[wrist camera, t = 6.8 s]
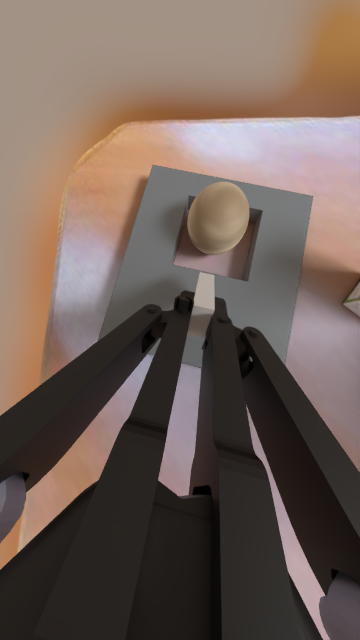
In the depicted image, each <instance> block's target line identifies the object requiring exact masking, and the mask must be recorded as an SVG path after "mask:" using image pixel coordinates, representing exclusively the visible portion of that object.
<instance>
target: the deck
mask: <svg viewBox="0 0 360 640" xmlns="http://www.w3.org/2000/svg"><path fill="white" fill-rule="evenodd" d="M216 182H229V183H232V184H235V185H236V186H238V187H239V188H240V189H241V190H242V191H243V193H244V194H245V196H246V198H247V201H248V205H249V221H250V222H255V226H254V230H253V235H252V240H251V244H250V249H249V254H248V259H247V263H246V268H245V273H244V277H243V280H238V279H234V278H230V277H225V276H221V275H217V274H212V273H208V272H203V271H199V270H195V269H190V268H186V267H182V266H177V265H173V263H174V259H175V255H176V251H177V248H178V244H179V240H180V237H181V233H182V229H183V226H184V222H185V218H186V215H187V211H188V209H190V207H191V205H192V203H193V201H194V199H195V198H196V196H197V195H198V194H199V193H200V192H201V191H202V190H203V189H204V188H206V187H207V186H209V185H211V184H213V183H216ZM312 201H313V196H310V195H305V194H300V193H295V192H290V191H285V190H279V189H274V188H269V187H264V186H259V185H254V184H249V183H244V182H238V181H233V180H228V179H223V178H218V177H213V176H208V175H202V174H197V173H192V172H187V171H182V170H177V169H172V168H167V167H161V166H156V165H153V166H152V169H151V172H150V175H149V178H148V182H147V185H146V188H145V191H144V194H143V198H142V201H141V204H140V207H139V210H138V214H137V217H136V220H135V223H134V226H133V230H132V233H131V236H130V239H129V242H128V246H127V249H126V252H125V255H124V258H123V262H122V265H121V268H120V271H119V274H118V278H117V281H116V284H115V287H114V290H113V294H112V297H111V300H110V303H109V306H108V310H107V313H106V316H105V319H104V322H103V326H102V329H101V332H100V335H99V338H98V341H99V340H100V339H102V338H103V337H104V336H106V335H107V334H108V333H109V332H111V331H112V330H113V329H115V328H116V327H117V326H119V325H120V324H121V323H123V322H124V321H125V320H127V319H128V318H129V317H130V316H132V315H133V314H134V313H136V312H137V311H138V310H140V309H141V308H142V307H144V306H145V305H148V304H155V305H158V306H160V307H161V309H162V311H169V310H173V308H174V301H175V298H176V296H179V295H180V294H181V292H182V291H184V290H186V291H190V292H195V290H196V286H197V282H198V278H199V274H200V272H202V273H207V274H211V275H214V294H215V297H218V298H223V299H224V300H225V302H226V307H227V314H228V317H229V318H230V319H231V320H232V324H233V325H234V326H235V327H237V328H240V329H242V330H243V329H244V328H245V327H248V326H250V327H254V328H256V329H258V330H259V331H260V332H261V333H262V334H263V335H264V336H265V338H266V339H267V341H268V342H269V344H270V345H271V346H272V348H273V349H274V351H275V352H276V354H277V355H278V356H279V358H280V359H281V361H282V362H283V364H284V365H285V362H286V356H287V350H288V344H289V338H290V332H291V326H292V320H293V314H294V308H295V302H296V296H297V290H298V284H299V278H300V272H301V266H302V260H303V254H304V248H305V243H306V237H307V231H308V225H309V219H310V213H311V207H312ZM205 338H206V334H205V337H204V338H202V337H198V336H194V335H190V334H187V338H186V343H185V347H184V352H183V357H182V362H181V363H184V364H188V365H192V366H196V367H199V368H202V357H203V350H202V349H201V348H202V346H203V343H204V340H205ZM160 340H161V338H159V340H158V341H157V343H156V344H155V345H154V346H153V347H152V349H151V350H150V351H149V352H148V354H150V355H155V353H156V350H157V348H158V345H159V343H160ZM250 359H251V357H250ZM251 361H252V359H251Z"/></svg>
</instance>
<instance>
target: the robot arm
mask: <svg viewBox="0 0 360 640" xmlns="http://www.w3.org/2000/svg"><path fill="white" fill-rule="evenodd" d="M187 334H190V335H194V336H198V337H202V338H204V337H205V334H206V338H205V340H204V343H203V346H202V348H201V349H202V350H203V357H202V370H201V383H200V396H199V408H198V421H197V434H196V447H195V455H194V460H193V463H192V469H191V477H190V488H189V495H187V496H177V495H176V494H175V493H173V492H172V491H171V490H170V489H168V488H167V487H166V486H164V485H163V484H162V483H161V482H159V481H158V477H159V472H160V467H161V462H162V457H163V452H164V447H165V442H166V437H167V430H168V424H169V420H170V415H171V410H172V405H173V400H174V396H175V391H176V386H177V381H178V376H179V372H180V367H181V362H182V357H183V352H184V347H185V343H186V338H187ZM159 338H161V340H160V343H159V345H158V348H157V350H156V353H155V355H154V358H153V360H152V362H151V365H150V367H149V370H148V372H147V375H146V377H145V380H144V382H143V385H142V387H141V390H140V392H139V395H138V397H137V400H136V402H135V404H134V407H133V409H132V412H131V414H130V416H129V418H128V419H127V420H126V422H125V423H124V424H123V426H122V428H121V430H120V432H119V434H118V436H117V439H116V441H115V443H114V446H113V448H112V450H111V453H110V455H109V457H108V460H107V462H106V465H105V467H104V469H103V472H102V474H101V476H100V479H99V480H98V481H97V482H95V483H93V484H92V485H91V486H89V487H88V488H87V489H85V490H84V491H83V492H82V493H81V494H80V495H79V496H78V497H76V498H75V499H74V500H73V501H72V502H71V503H70V504H69V505H68V506H67V507H66V508H65V509H64V510H63V511H62V512H61V513H60V514H59V515H58V516H56V517H55V518H54V519H53V520H52V521H51V522H50V523H49V524H48V525H47V526H46V527H45V528H44V529H43V530H42V531H41V532H40V533H39V534H38V535H37V536H35V537H34V538H33V539H32V540H31V541H30V542H29V543H28V544H27V545H26V546H25V547H24V548H23V549H22V550H21V551H20V552H19V553H18V554H17V555H16V556H14V557H13V558H12V559H11V560H10V561H9V562H8V563H7V564H6V565H5V566H4V567H3V568H2V569H1V570H0V640H323V639H322V637H321V635H320V633H319V631H318V629H317V627H316V625H315V623H314V621H313V619H312V617H311V615H310V614H309V612H308V610H307V608H306V606H305V604H304V602H303V600H302V598H301V596H300V594H299V592H298V590H297V588H296V586H295V584H294V582H293V580H292V579H291V577H290V575H289V573H288V570H287V565H286V561H285V556H284V551H283V546H282V541H281V536H280V531H279V526H278V521H277V517H276V512H275V507H274V502H273V497H272V492H271V487H270V482H269V479H268V475H267V471H266V469H265V467H264V465H263V463H262V461H261V460H260V459H259V458H258V457H257V455H256V454H255V452H254V449H253V445H252V439H251V433H250V427H249V421H248V415H247V409H246V405H247V407H248V410H249V413H250V415H251V418H252V421H253V423H254V426H255V429H256V431H257V434H258V437H259V439H260V442H261V445H262V447H263V450H264V453H265V455H266V458H267V461H268V463H269V466H270V469H271V472H272V474H273V477H274V480H275V482H276V485H277V488H278V490H279V493H280V496H281V498H282V501H283V504H284V506H285V509H286V512H287V514H288V517H289V519H290V522H291V524H292V527H293V529H294V532H295V534H296V537H297V539H298V541H299V543H300V545H301V548H302V550H303V552H304V554H305V556H306V558H307V560H308V563H309V565H310V567H311V569H312V571H313V573H314V575H315V577H316V578H317V580H318V582H319V584H320V586H321V588H322V590H323V592H324V594H325V596H323V597H321V598H320V602H319V610H320V616H321V619H322V622H323V626H324V628H325V630H326V632H327V634H328V636H329V638H330V640H360V472H359V471H358V470H357V468H356V467H355V465H354V464H353V462H352V461H351V460H350V458H349V457H348V455H347V454H346V452H345V451H344V450H343V448H342V447H341V445H340V444H339V442H338V441H337V440H336V438H335V437H334V435H333V434H332V432H331V431H330V429H329V428H328V427H327V425H326V424H325V422H324V421H323V419H322V418H321V417H320V415H319V414H318V412H317V411H316V409H315V408H314V407H313V405H312V404H311V402H310V401H309V399H308V398H307V397H306V395H305V394H304V392H303V391H302V389H301V388H300V387H299V385H298V384H297V382H296V381H295V379H294V378H293V376H292V375H291V374H290V372H289V371H288V369H287V368H286V366H285V365H284V364H283V362H282V361H281V359H280V358H279V356H278V355H277V354H276V352H275V351H274V349H273V348H272V346H271V345H270V344H269V342H268V341H267V339H266V338H265V336H264V335H263V334H262V333H261V332H260V331H259V330H258V329H256V328H254V327H250V326H248V327H245V328H244V329H243V330H242V329H240V328H237V327H235V326H234V325H233V324H232V320H231V319H230V318H229V317H228V314H227V307H226V302H225V300H224V299H223V298H218V297H215V294H214V275H211V274H207V273H202V272H200V274H199V278H198V282H197V286H196V290H195V292H190V291H186V290H184V291H182V292H181V294H180V295H179V296H176V298H175V301H174V308H173V310H169V311H162V309H161V307H160V306H158V305H155V304H148V305H145V306H144V307H142V308H141V309H140V310H138V311H137V312H136V313H134V314H133V315H132V316H130V317H129V318H128V319H127V320H125V321H124V322H123V323H121V324H120V325H119V326H117V327H116V328H115V329H113V330H112V331H111V332H109V333H108V334H107V335H106V336H104V337H103V338H102V339H100V340H99V341H98V342H96V343H95V344H94V345H92V346H91V347H90V348H89V349H87V350H86V351H85V352H83V353H82V354H81V355H79V356H78V357H77V358H75V359H74V360H73V361H72V362H70V363H69V364H68V365H66V366H65V367H64V368H62V369H61V370H60V371H58V372H57V373H56V374H55V375H53V376H52V377H51V378H49V379H48V380H47V381H45V382H44V383H43V384H41V385H40V386H39V387H38V388H36V389H35V390H34V391H32V392H31V393H30V394H29V395H27V396H26V397H25V398H23V399H22V400H21V401H19V402H18V403H17V404H16V405H14V406H13V407H11V408H10V409H9V410H8V411H6V412H5V413H4V414H2V415H1V416H0V543H1V542H2V540H3V539H4V538H5V537H6V536H7V534H8V533H9V532H10V531H11V529H12V528H13V526H14V525H15V523H16V522H17V520H18V519H19V518H20V516H21V514H22V512H23V509H24V504H25V500H26V492H27V491H29V490H30V489H31V488H32V487H33V486H34V485H35V484H37V483H38V482H39V481H40V480H41V479H42V478H43V477H44V476H45V475H46V474H47V473H48V472H49V471H50V470H51V469H52V468H53V467H54V466H55V465H56V464H57V462H58V461H59V460H60V459H61V458H62V457H63V456H64V455H65V453H66V452H67V451H68V450H69V449H70V448H71V446H72V445H73V444H74V443H75V441H76V440H77V439H78V438H79V437H80V435H81V434H82V433H83V432H84V430H85V429H86V428H87V427H88V426H89V424H90V423H91V422H92V421H93V420H94V418H95V417H96V416H97V415H98V413H99V412H100V411H101V410H102V409H103V407H104V406H105V405H106V404H107V402H108V401H109V400H110V399H111V398H112V396H113V395H114V394H115V393H116V391H117V390H118V389H119V388H120V387H121V385H122V384H123V383H124V382H125V380H126V379H127V378H128V377H129V376H130V374H131V373H132V372H133V371H134V369H135V368H136V367H137V366H138V365H139V363H140V362H141V361H142V360H143V358H144V357H145V356H146V355H147V354H148V352H149V351H150V350H151V349H152V347H153V346H154V345H155V344H156V343H157V341H158V340H159ZM250 357H251V359H252V361H251V359H250ZM245 402H246V403H245Z"/></svg>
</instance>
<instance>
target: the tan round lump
mask: <svg viewBox="0 0 360 640" xmlns="http://www.w3.org/2000/svg"><path fill="white" fill-rule="evenodd" d="M248 221H249V205H248V201H247V198H246V196H245V194H244V193H243V191H242V190H241V189H240V188H239V187H238V186H236V185H235V184H232V183H229V182H216V183H213V184H211V185H209V186H207V187H206V188H204V189H203V190H202V191H201V192H200V193H199V194H198V195H197V196H196V198H195V199H194V201H193V203H192V205H191V207H190V210H189V214H188V221H187V226H188V233H189V236H190V239H191V241H192V243H193V244H194V246H195V247H196V248H197V249H199V250H200V251H201V252H203V253H206V254H209V255H218V254H222V253H225V252H227V251H229V250H231V249H232V248H233V247H234V246H236V245H237V243H238V242H239V241H240V240H241V238H242V237H243V235H244V233H245V231H246V229H247V226H248Z"/></svg>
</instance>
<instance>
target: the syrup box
mask: <svg viewBox="0 0 360 640" xmlns="http://www.w3.org/2000/svg"><path fill="white" fill-rule="evenodd" d="M343 305H344V306H346V307H347V308H348V309H350V310H351V311H352V312H354V313H355V314H357V315H358V316H359V317H360V281H359V282H358V283H357V285H356V286H355V288H354V289H353V290H352V292H351V293H350V294H349V296H348V297H347V299H346V300H345V301H344V303H343Z"/></svg>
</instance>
